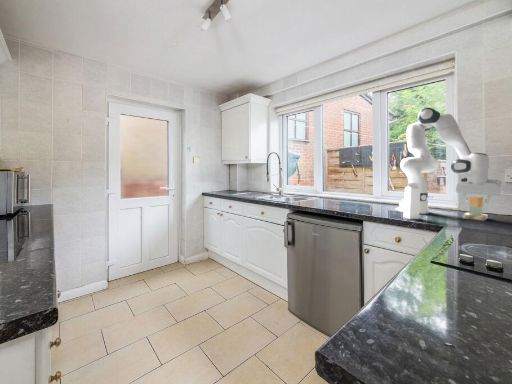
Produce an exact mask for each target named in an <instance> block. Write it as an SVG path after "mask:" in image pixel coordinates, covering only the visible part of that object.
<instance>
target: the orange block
mask: <svg viewBox="0 0 512 384" xmlns="http://www.w3.org/2000/svg"><path fill="white" fill-rule="evenodd" d="M468 204H469V207H470V206H472V207H482V208H483V205H484V197H483V196H477V195H475V196H469V203H468Z"/></svg>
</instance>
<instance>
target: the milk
mask: <svg viewBox="0 0 512 384" xmlns="http://www.w3.org/2000/svg"><path fill="white" fill-rule="evenodd" d="M403 195H404V197H403V199H404V212H403V216H402V217H403V218H404V217H405V219H408V220H419V219H420V213H419V206H420V187H418V186H417V183H409V182H408V183H407V186H405V187H404V194H403Z"/></svg>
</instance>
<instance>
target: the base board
mask: <svg viewBox="0 0 512 384" xmlns="http://www.w3.org/2000/svg"><path fill="white" fill-rule="evenodd" d="M488 216H489V215H488V214H485V213H482V215H471V214H469V212H464V213H463V214H462V219H468V220H474V221H486V220H487V219H488V218H489V217H488Z"/></svg>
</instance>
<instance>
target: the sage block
mask: <svg viewBox="0 0 512 384" xmlns="http://www.w3.org/2000/svg"><path fill="white" fill-rule="evenodd" d="M468 213H469V214H471V215H482V214H483V206H482V207H472V206H469V212H468Z"/></svg>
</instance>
